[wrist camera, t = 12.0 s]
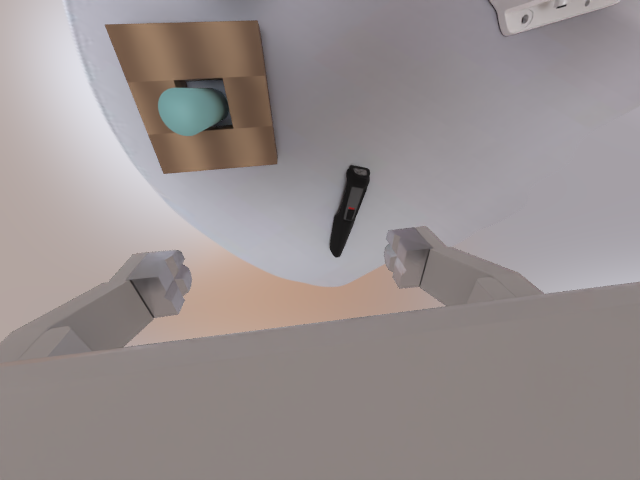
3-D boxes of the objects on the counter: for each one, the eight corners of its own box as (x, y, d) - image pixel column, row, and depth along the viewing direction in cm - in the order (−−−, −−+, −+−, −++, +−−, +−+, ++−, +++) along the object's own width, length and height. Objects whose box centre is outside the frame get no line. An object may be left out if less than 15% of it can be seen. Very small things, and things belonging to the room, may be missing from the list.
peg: (225, 87, 30) (197, 86, 19) (232, 120, 31) (210, 134, 21) (194, 89, 29) (150, 88, 19) (203, 122, 31) (168, 137, 21)
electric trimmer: (323, 246, 45) (326, 256, 42) (347, 163, 37) (353, 169, 34) (342, 249, 46) (346, 259, 43) (369, 168, 38) (376, 174, 35)
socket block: (259, 29, 27) (257, 20, 24) (277, 156, 35) (277, 164, 31) (127, 33, 26) (104, 24, 22) (175, 165, 33) (163, 173, 30)
